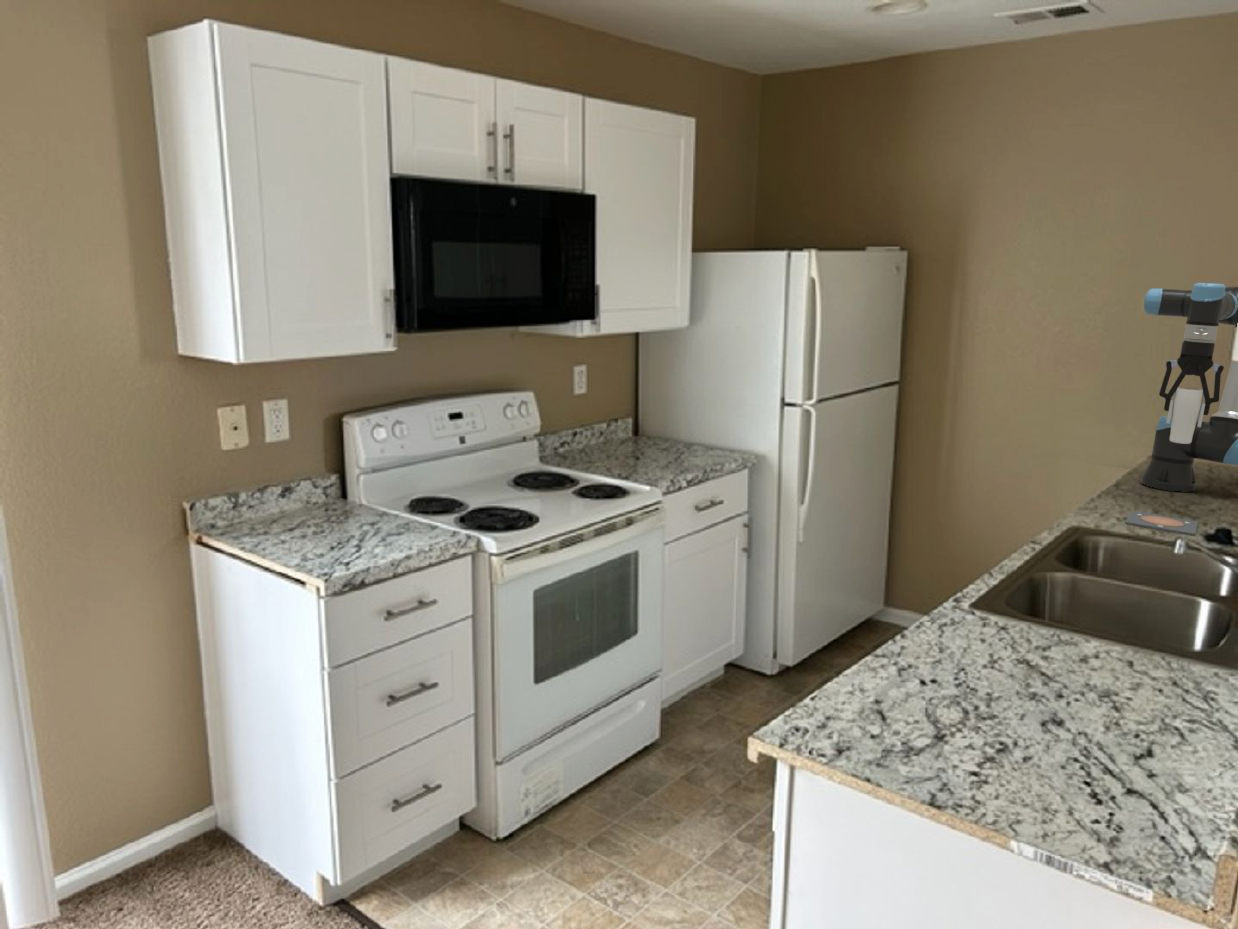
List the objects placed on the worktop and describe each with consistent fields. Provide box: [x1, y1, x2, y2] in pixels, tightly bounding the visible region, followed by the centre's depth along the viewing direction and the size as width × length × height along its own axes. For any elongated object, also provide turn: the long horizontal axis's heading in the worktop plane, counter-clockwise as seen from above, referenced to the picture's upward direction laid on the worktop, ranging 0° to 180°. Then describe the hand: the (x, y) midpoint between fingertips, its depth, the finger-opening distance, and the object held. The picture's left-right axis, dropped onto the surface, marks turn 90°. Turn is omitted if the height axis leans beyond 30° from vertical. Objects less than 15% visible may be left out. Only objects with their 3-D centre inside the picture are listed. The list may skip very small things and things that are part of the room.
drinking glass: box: [1169, 386, 1204, 444], centre depth 255 cm, size 7×7×15 cm
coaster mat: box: [1124, 510, 1199, 537], centre depth 249 cm, size 16×16×1 cm
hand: (1183, 424), depth 256 cm, fingers closed on drinking glass, 7 cm apart
